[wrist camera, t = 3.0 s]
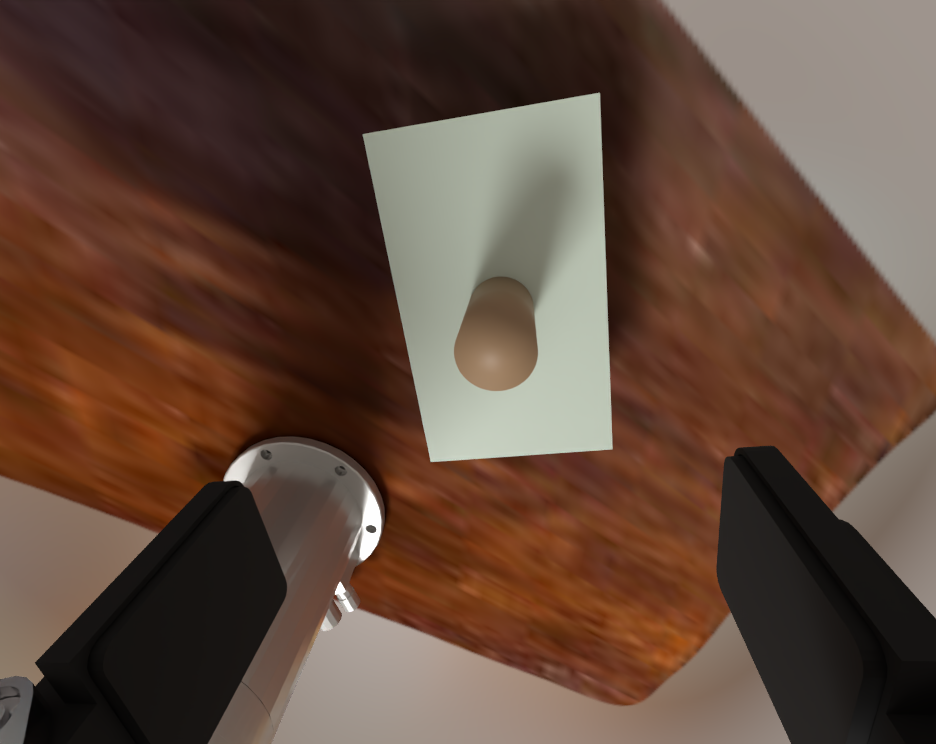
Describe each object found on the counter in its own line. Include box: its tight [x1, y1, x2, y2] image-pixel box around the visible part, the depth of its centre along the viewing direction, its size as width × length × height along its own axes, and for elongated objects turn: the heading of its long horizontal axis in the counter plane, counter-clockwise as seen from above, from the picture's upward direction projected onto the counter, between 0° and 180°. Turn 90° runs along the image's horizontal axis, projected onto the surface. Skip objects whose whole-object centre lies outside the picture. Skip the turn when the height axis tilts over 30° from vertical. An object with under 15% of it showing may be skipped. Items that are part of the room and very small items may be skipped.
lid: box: [363, 93, 612, 462], centre depth 22 cm, size 17×10×7 cm, turn 8°
